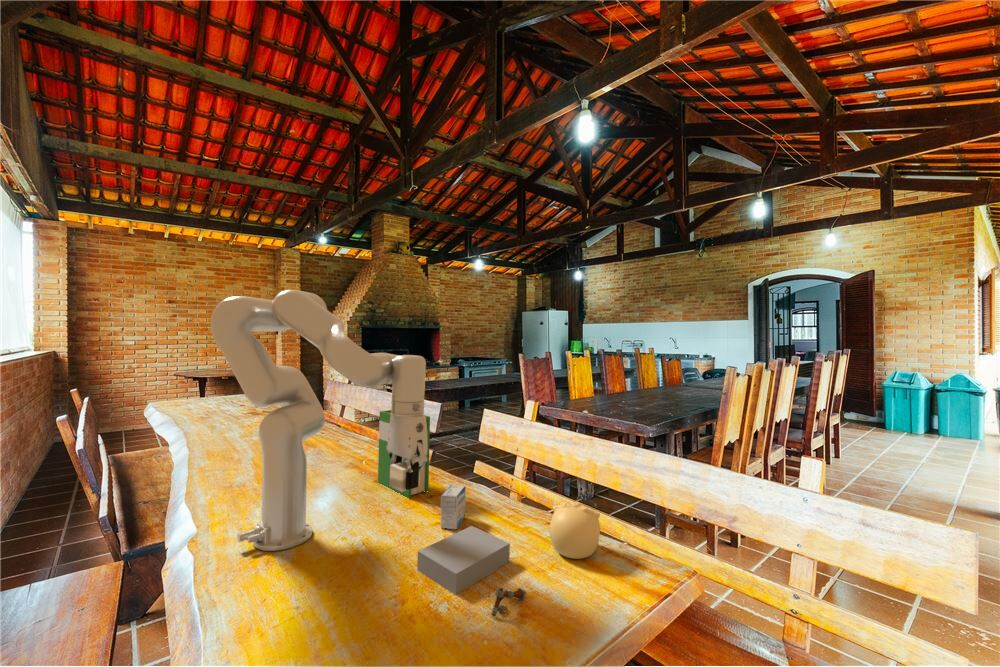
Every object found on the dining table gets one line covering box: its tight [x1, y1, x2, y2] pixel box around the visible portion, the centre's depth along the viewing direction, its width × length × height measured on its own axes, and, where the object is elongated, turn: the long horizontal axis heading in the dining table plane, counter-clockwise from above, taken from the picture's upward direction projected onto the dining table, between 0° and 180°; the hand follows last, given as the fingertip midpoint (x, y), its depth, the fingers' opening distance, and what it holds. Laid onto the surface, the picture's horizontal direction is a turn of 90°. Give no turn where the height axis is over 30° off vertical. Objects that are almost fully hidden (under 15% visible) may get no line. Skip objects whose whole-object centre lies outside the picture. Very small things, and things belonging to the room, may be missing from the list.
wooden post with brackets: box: [490, 587, 527, 618], centre depth 75 cm, size 2×8×4 cm, turn 137°
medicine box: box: [440, 484, 467, 530], centre depth 109 cm, size 8×4×9 cm, turn 168°
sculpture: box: [549, 501, 601, 560], centre depth 96 cm, size 12×12×11 cm
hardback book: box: [377, 409, 431, 499], centre depth 133 cm, size 18×7×24 cm, turn 47°
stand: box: [416, 525, 511, 595], centre depth 89 cm, size 16×12×4 cm
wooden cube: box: [389, 461, 420, 492], centre depth 96 cm, size 5×5×5 cm
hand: (404, 484), depth 96 cm, fingers closed on wooden cube, 5 cm apart
